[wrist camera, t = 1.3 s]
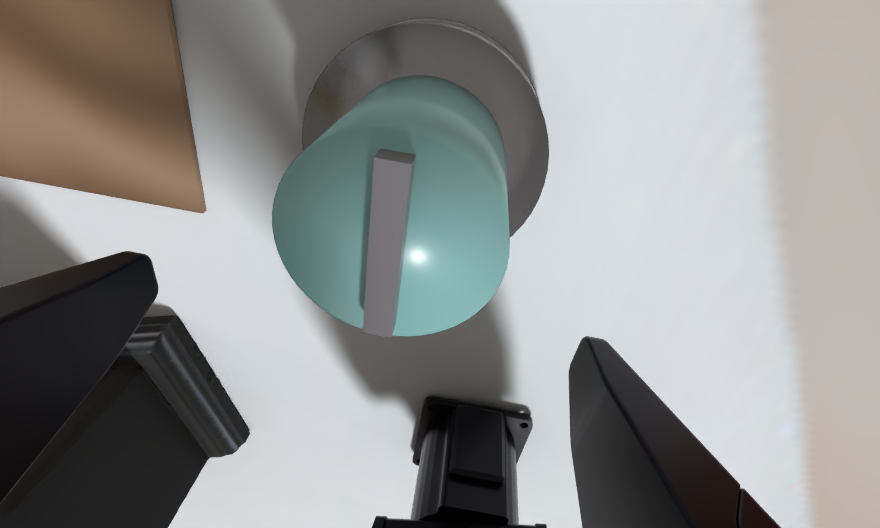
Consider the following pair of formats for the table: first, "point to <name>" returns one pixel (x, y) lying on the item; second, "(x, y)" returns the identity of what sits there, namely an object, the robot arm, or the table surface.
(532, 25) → the table surface
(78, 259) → the table surface
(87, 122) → the walnut board
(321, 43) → the table surface
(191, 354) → the black drawer cabinet
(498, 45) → the silver metal disc
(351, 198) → the teal cap
